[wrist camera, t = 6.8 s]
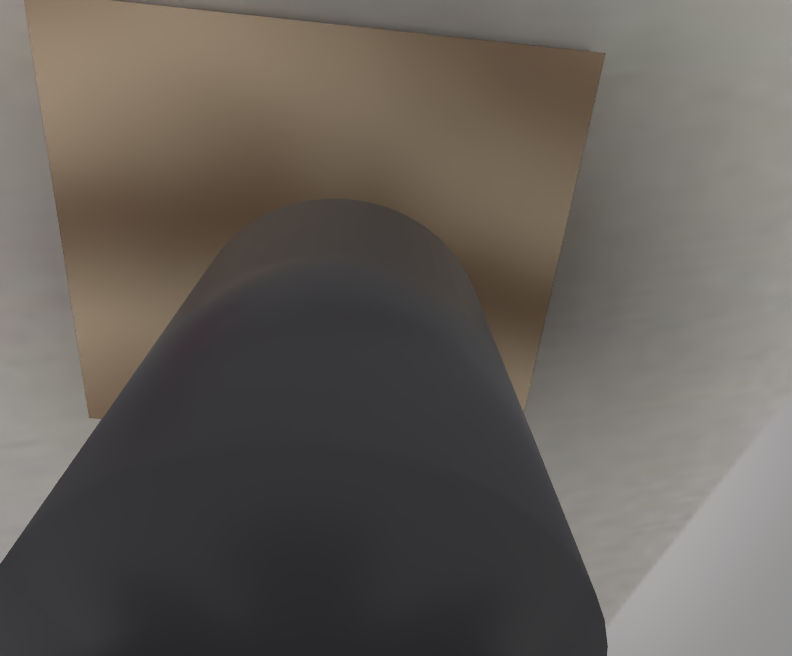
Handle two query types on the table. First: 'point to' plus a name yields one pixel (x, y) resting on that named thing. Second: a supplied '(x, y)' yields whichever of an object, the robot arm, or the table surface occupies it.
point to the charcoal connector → (309, 472)
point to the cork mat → (294, 156)
